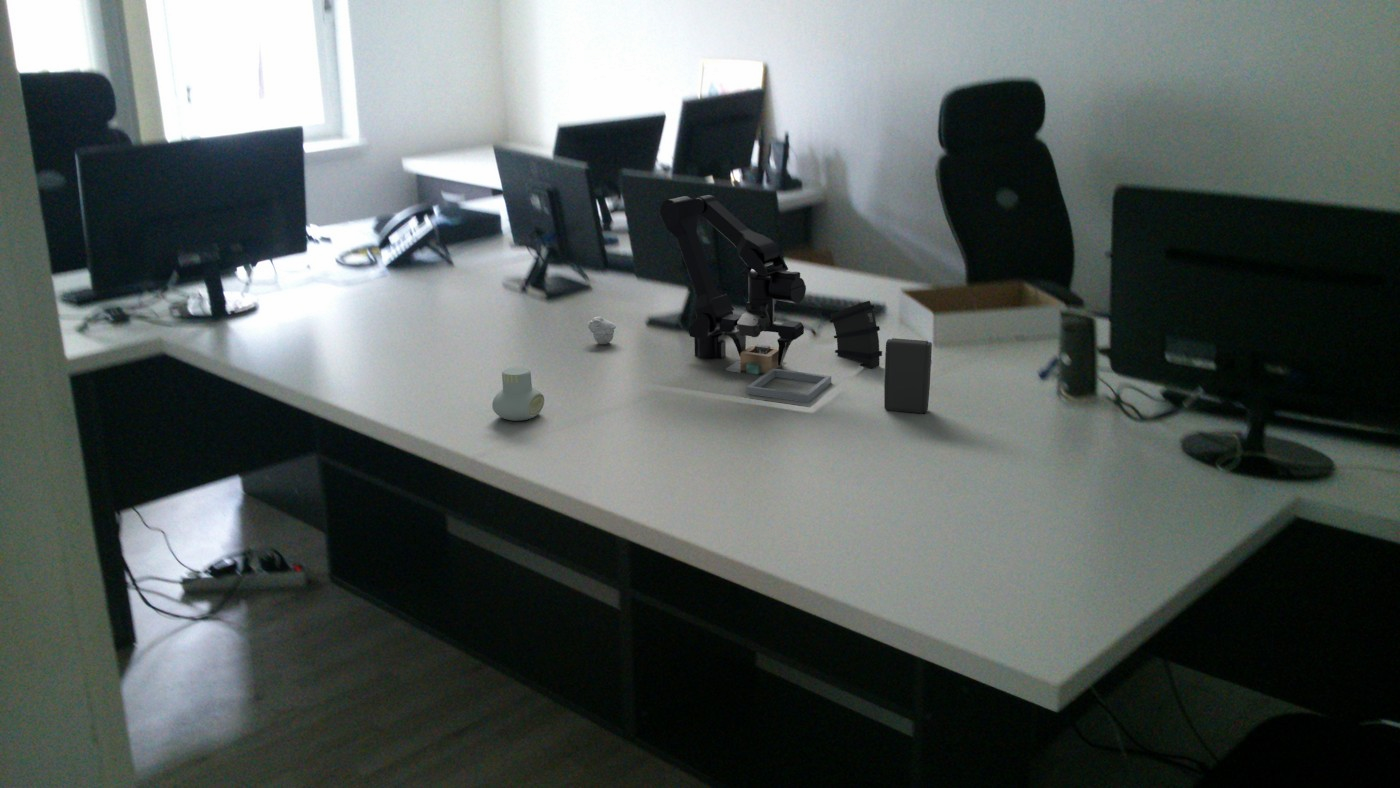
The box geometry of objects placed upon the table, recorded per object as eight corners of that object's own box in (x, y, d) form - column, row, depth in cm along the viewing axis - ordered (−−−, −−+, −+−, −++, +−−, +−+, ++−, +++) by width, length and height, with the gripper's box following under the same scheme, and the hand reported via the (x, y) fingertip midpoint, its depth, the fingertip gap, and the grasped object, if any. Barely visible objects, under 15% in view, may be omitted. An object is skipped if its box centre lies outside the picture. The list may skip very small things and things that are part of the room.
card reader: (930, 409, 248) (933, 339, 243) (927, 415, 245) (930, 345, 240) (886, 404, 251) (889, 336, 246) (882, 411, 248) (885, 341, 243)
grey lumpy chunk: (588, 341, 299) (587, 314, 297) (616, 339, 300) (615, 312, 298) (588, 348, 294) (587, 320, 291) (617, 346, 294) (616, 319, 292)
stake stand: (723, 374, 272) (723, 349, 270) (743, 361, 282) (743, 337, 280) (767, 380, 268) (767, 355, 266) (786, 366, 277) (786, 342, 275)
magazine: (881, 365, 271) (861, 302, 271) (841, 377, 282) (822, 316, 282) (891, 362, 273) (872, 299, 274) (852, 374, 284) (833, 313, 284)
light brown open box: (737, 371, 271) (737, 354, 269) (753, 361, 278) (753, 344, 277) (766, 375, 268) (766, 358, 266) (782, 364, 275) (782, 348, 274)
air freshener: (524, 427, 242) (521, 380, 239) (488, 423, 245) (485, 377, 242) (549, 410, 252) (546, 364, 249) (514, 406, 255) (511, 361, 251)
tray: (746, 397, 257) (746, 386, 256) (772, 378, 269) (772, 368, 268) (807, 406, 251) (807, 395, 250) (831, 387, 263) (831, 376, 262)
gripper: (708, 301, 265) (709, 367, 270) (785, 309, 257) (785, 378, 263) (729, 289, 275) (730, 354, 280) (805, 297, 267) (804, 364, 272)
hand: (761, 362), depth 273 cm, fingers open, 9 cm apart
